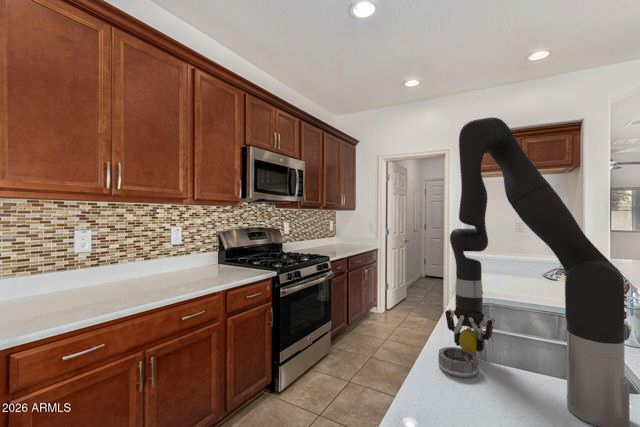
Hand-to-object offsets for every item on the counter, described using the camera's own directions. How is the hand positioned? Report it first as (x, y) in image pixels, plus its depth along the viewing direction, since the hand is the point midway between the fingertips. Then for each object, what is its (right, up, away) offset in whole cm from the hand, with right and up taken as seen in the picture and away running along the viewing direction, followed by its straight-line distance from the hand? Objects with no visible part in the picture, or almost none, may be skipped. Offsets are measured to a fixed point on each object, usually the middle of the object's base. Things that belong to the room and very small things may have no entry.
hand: (468, 347), depth 94 cm
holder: (-7, -2, -9) cm, 12 cm away
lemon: (0, -2, 0) cm, 2 cm away
